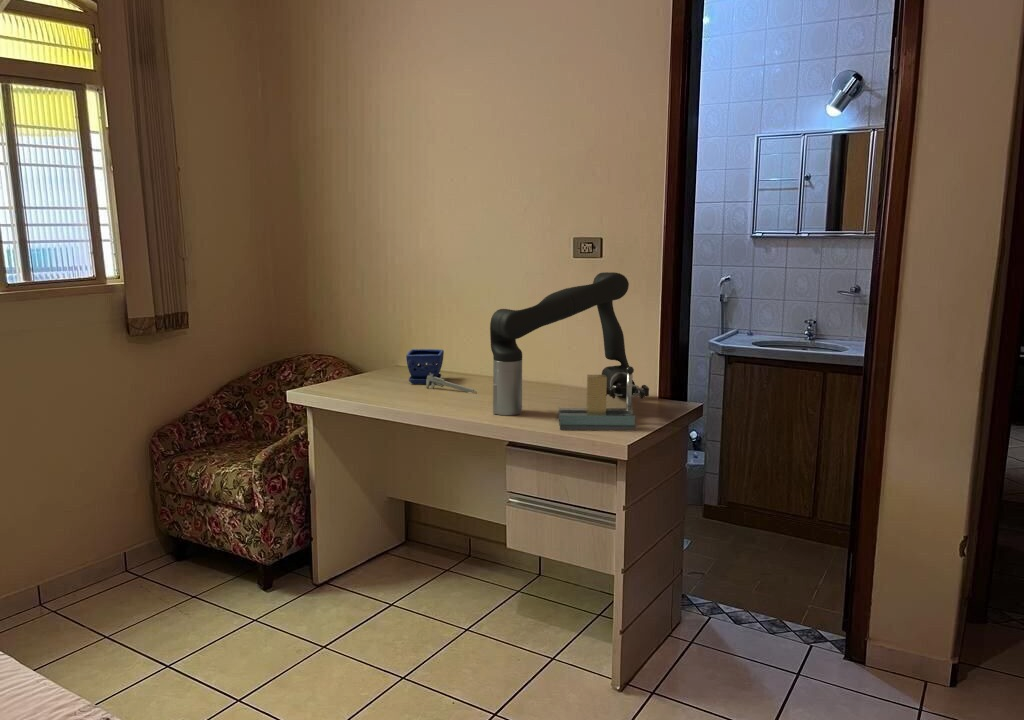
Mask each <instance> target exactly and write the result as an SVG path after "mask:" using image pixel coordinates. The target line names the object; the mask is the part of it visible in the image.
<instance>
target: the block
mask: <svg viewBox="0 0 1024 720" xmlns="http://www.w3.org/2000/svg"><path fill="white" fill-rule="evenodd" d="M606 390H607V377H606V375H601V374H586V408H587V410H586V413H606V408H607V396H606Z"/></svg>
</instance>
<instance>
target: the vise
mask: <svg viewBox="0 0 1024 720" xmlns="http://www.w3.org/2000/svg"><path fill="white" fill-rule="evenodd" d="M557 419H559V413H557ZM635 425H636V415H635V413H632V414H607V413H560V419H559V420H558V426H560V427H559V431H598V430H635V431H636V426H635Z"/></svg>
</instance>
